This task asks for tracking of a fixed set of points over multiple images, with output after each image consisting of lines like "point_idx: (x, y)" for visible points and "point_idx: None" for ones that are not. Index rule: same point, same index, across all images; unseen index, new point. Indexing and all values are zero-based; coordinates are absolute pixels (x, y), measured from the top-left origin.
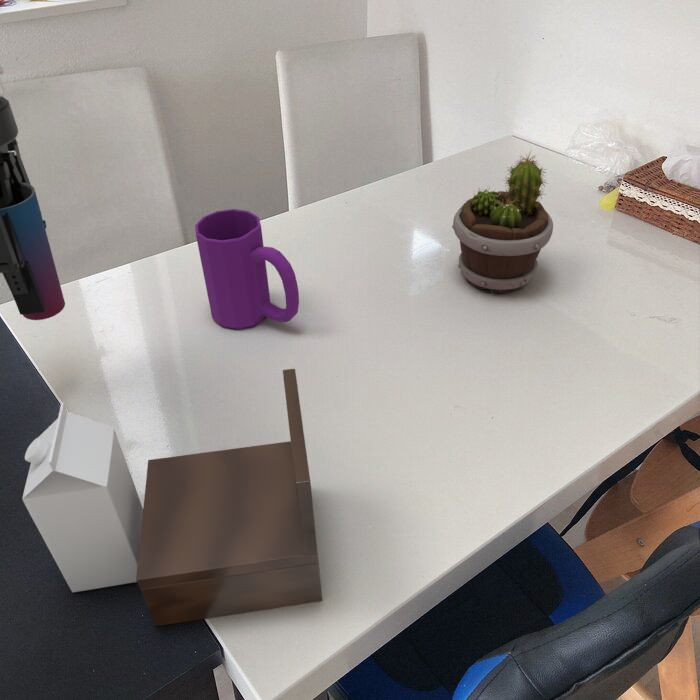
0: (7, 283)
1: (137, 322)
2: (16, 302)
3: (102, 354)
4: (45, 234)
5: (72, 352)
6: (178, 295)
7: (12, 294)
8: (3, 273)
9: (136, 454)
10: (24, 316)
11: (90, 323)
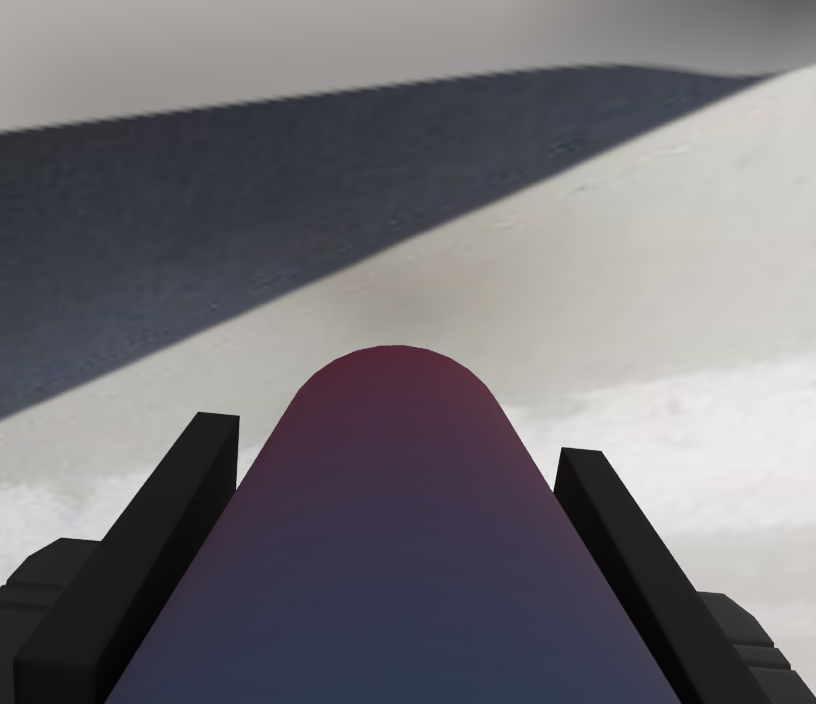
0: (299, 440)
1: (678, 521)
2: (170, 455)
3: (535, 410)
4: None
5: (585, 309)
6: (782, 651)
7: (148, 482)
8: (255, 500)
9: (32, 508)
10: (320, 369)
11: (742, 365)
